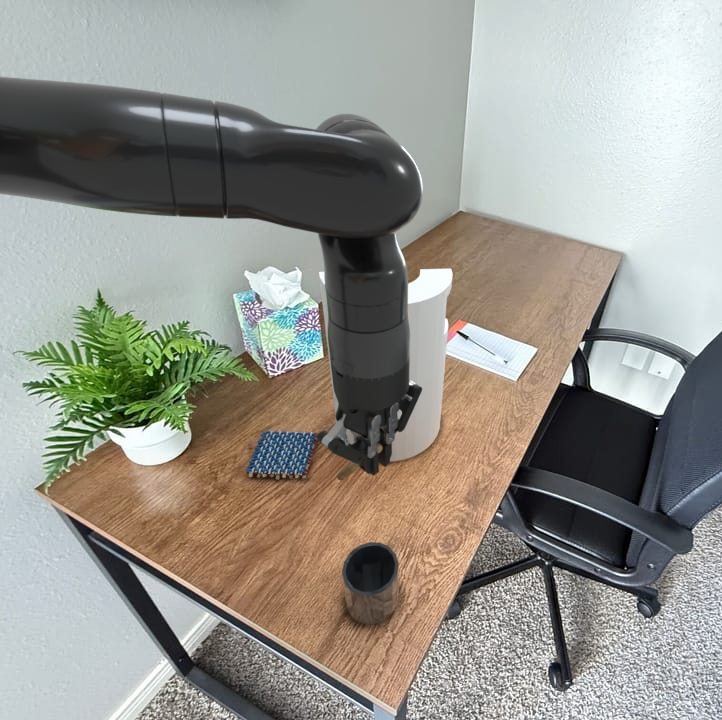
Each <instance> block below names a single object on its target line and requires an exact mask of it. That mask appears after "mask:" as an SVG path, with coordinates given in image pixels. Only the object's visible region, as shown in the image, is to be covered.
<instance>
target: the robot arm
mask: <svg viewBox="0 0 722 720" xmlns="http://www.w3.org/2000/svg"><path fill="white" fill-rule="evenodd" d="M423 194H424V186H423V180H422V176H421V173H420V170H419V168H418V166H417V164H416V162H415V160H414V158H413V157H412V156H411V154H410V153H409V152H408V151H407V150H406V148H405V147H404V146H403V145H402V144H400V143H399V142H398V141H397V140H396V139H394V137H392V136H391V135H390V134H388V133H387V132H386V131H385V130H384V129H383V128H381V126H379V125H378V124H377V123H375V122H374V121H372V120H371V119H368V118H366V117H364V116H362V115H358V114H354V113H338V114H336V115H332V116H330V117H328V118H326V119H324V121H322V122H321V123H320V124H319V125H318V126H317V127H316V128H309V127H304V126H296V125H290V124H285V123H281V122H277V121H274V120H272V119H270V118H268V117H266V116H264V115H263V114H261V113H260V112H258V111H257V110H254V109H251V108H248V107H245V106H242V105H238V104H234V103H229V102H224V101H218V100H215V101H214V100H211V99H206V98H198V97H192V96H186V95H179V94H174V93H173V94H172V93H167V92H160V91H153V90H146V89H138V88H131V87H130V88H129V87H123V86H114V85H107V84H97V83H88V82H87V83H84V82H75V81H74V82H73V81H63V80H62V81H60V80H49V79H48V80H47V79H35V78H34V79H33V78H21V77H9V76H0V195H4V196H13V197H19V198H20V197H21V198H28V199H34V200H40V201H41V200H42V201H48V202H53V203H59V204H65V205H71V206H78V207H82V208H88V209H95V210H101V211H102V210H103V211H109V212H117V213H125V214H135V215H136V214H137V215H147V216H161V217H180V218H197V219H198V218H200V219H204V218H205V219H223V220H224V219H228V220H258V221H262V222H266V223H270V224H275V225H277V226H281V227H285V228H289V229H294V230H299V231H304V232H309V233H315V234H317V235H318V239H319V243H320V247H321V253H322V260H323V269H324V271H323V272H324V279H325V291H326V300H327V309H328V344H329V352H330V361H331V370H332V378H333V387H334V392H335V395H336V397H337V400H338V403H339V405H338V409H337V412H336V416H335V424H334V425H333V426H332V427H331V429H330V430H329V431H327V430H324V429H323V430H321V431H319V432H318V434H317V440H318V441H317V442H319V443H320V444H322V446H324V447H325V448H326V449H328V450H329V451H330V452H331V453H332V454H334V455H336V456H338V457H341V458H343V459H345V460H348V461H349V462H350V463H351V462H354V463H356V464H359V467H360V468H359V469H361V470H362V471H363V472H365V473H366V474H367V475H371V476H374V477H375V476H376V475H377V474H378V473H379V472H380V466H379V465H381V466H383V467H387V466H388V465H389V464H391V462H390V458H391V455H392V442H393V441H394V439H395V433H396V432H397V431H398V432H402V431H403V430H404V429H405V427H406V425H407V423H408V420H409V418H410V416H411V414H412V412H413V409H414V407H415V405H416V403H417V401H418V398H419V396H420V394H421V392H422V387H420V386H419V385H417V384H416V383H414V382H413V381H411V380H409V368H410V327H409V321H408V284H409V273H408V272H409V271H408V267H407V262H406V259H405V256H404V254H403V252H402V250H401V248H400V246H399V245H400V244H399V242H398V239H397V232H399V231H400V230H402V229H404V228H405V227H406V226H408V225H409V224H410V223H411V222H412V221H413V220H414V218H415V217H416V215H417V214H418V212H419V210H420V207H421V205H422V200H423ZM399 409H400V410H401V411H402V415H401V417H400V419H398V418H397V412H398V411H399ZM336 420H337V422H336ZM347 429H349V430H350V431H351V433H352V434H353V437H354V444H350V443H349V441H347V435H346V430H347ZM377 443H381V444H382V446H383V449H382V451H381V452H380V453H379V454H378V452H377Z"/></svg>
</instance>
